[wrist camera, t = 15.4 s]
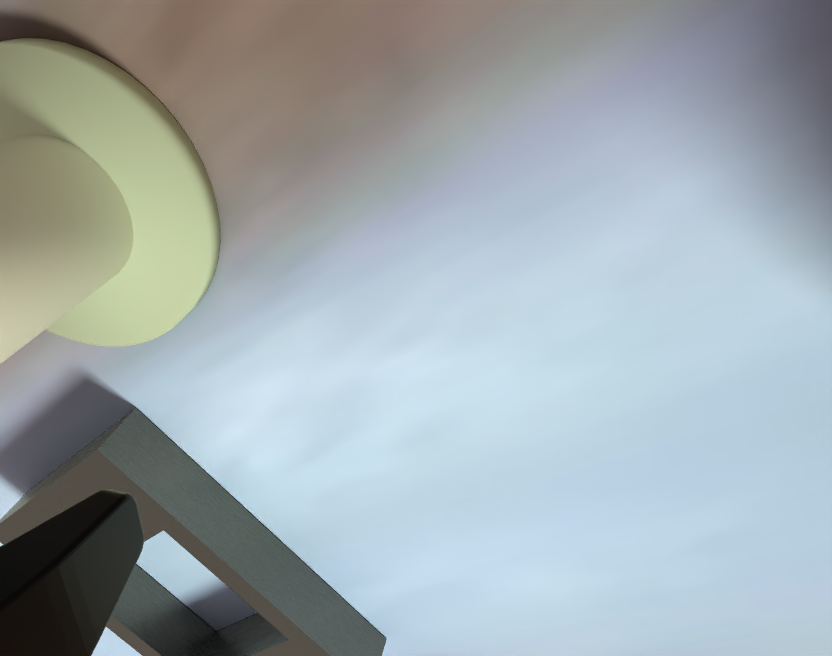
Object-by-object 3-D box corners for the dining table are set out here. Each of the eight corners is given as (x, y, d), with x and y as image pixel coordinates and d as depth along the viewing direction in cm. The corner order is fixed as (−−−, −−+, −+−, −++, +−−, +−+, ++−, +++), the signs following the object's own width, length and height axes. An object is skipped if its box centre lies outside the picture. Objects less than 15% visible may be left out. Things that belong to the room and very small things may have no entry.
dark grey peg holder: (386, 639, 31) (370, 691, 29) (260, 684, 36) (239, 733, 34) (135, 407, 27) (97, 449, 25) (28, 490, 32) (-12, 532, 30)
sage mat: (281, 234, 22) (268, 247, 21) (113, 374, 27) (97, 390, 26) (29, -42, 19) (2, -39, 18) (-107, 170, 24) (-133, 180, 23)
